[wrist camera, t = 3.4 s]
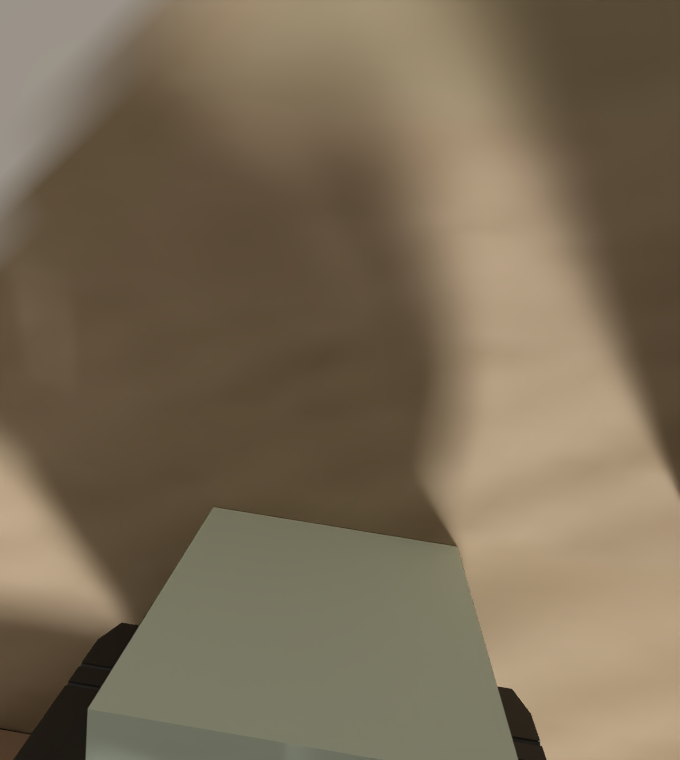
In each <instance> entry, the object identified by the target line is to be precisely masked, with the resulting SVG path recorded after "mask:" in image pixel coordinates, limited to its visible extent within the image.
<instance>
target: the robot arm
mask: <svg viewBox="0 0 680 760" xmlns="http://www.w3.org/2000/svg"><path fill="white" fill-rule="evenodd" d="M154 602H155V601H154ZM154 602H153V603H154ZM152 605H153V604H152ZM152 605H151V606H152ZM150 608H151V607H150ZM149 610H150V609H149ZM149 610H148V611H149ZM147 613H148V612H147ZM147 613H146V614H147ZM145 616H146V615H145ZM144 618H145V617H144ZM144 618H143V619H144ZM142 621H143V620H142ZM142 621H141V623H142ZM141 623H140V624H141ZM139 626H140V625H139ZM139 626H138V625H132V624H126V623H121V624H119V625H118V626H116V627H115V628H114V629H112V630H111V631H109V632H108V633H107V634H105V635H104V636H102V637H101V638H100V639H98V640H97V642H96V643H95V645H94V646H93V647H92V649H91V650H90V652H89V653H88V654H87V656H86V657H85V659H84V660H83V661H82V665H81V667H78V669H77V670H76V671H75V673H74V674H73V676H72V677H71V678H70V680H69V683H68V685H67V686H65V687H64V688H63V690H62V691H61V693H60V694H59V695H58V697H57V698H56V700H55V701H54V703H53V704H52V705H51V707H50V708H49V710H48V711H47V712H46V714H45V715H44V717H43V718H42V720H41V721H40V722H39V724H38V725H37V727H36V728H35V729H34V731H33V732H32V734H31V735H30V737H29V738H28V739H27V741H26V742H25V744H24V745H23V746H22V748H21V749H20V751H19V752H18V754H17V755H16V756H15V758H14V759H13V760H86V737H87V713H88V708H89V706H90V704H91V703H92V701H93V700H94V698H95V696H96V695H97V693H98V692H99V690H100V688H101V687H102V685H103V684H104V682H105V680H106V679H107V677H108V676H109V674H110V672H111V671H112V669H113V667H114V666H115V664H116V663H117V661H118V659H119V658H120V656H121V655H122V653H123V651H124V650H125V648H126V647H127V645H128V643H129V642H130V640H131V639H132V637H133V635H134V634H135V632H136V631H137V629H138V627H139ZM498 691H499V694H500V698H501V701H502V705H503V708H504V712H505V715H506V719H507V722H508V726H509V729H510V733H511V736H512V740H513V743H514V747H515V750H516V754H517V757H518V760H546V757H545V754H544V751H543V748H542V746H540V739H539V736H538V733H537V731H536V728H535V725H534V722H533V719H532V716H531V713H530V712H529V711H528V709H527V708H526V707H525V706H524V704H523V703H522V702H521V700H520V699H519V698H518V696H517V695H516V694H515V692H514V691H513V690H512V689H509V688H503V687H498Z"/></svg>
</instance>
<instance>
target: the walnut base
mask: <svg viewBox="0 0 680 760" xmlns="http://www.w3.org/2000/svg"><path fill="white" fill-rule="evenodd" d="M29 737H30V735H29V734H24V733H18V732H12V731H6V730H1V729H0V760H13V759H14V758H15V756H16V755H17V754H18V752H19V751H20V749H21V748H22V746H23V745H24V744H25V742H26V741H27V739H28V738H29Z"/></svg>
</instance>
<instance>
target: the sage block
mask: <svg viewBox="0 0 680 760" xmlns="http://www.w3.org/2000/svg"><path fill="white" fill-rule="evenodd" d="M86 760H518V757H517V754H516V750H515V747H514V743H513V740H512V736H511V733H510V729H509V726H508V722H507V719H506V715H505V712H504V708H503V705H502V701H501V698H500V694H499V691H498V687H497V684H496V680H495V677H494V673H493V670H492V666H491V663H490V659H489V656H488V652H487V649H486V645H485V642H484V638H483V635H482V631H481V628H480V624H479V621H478V617H477V614H476V610H475V607H474V603H473V600H472V596H471V593H470V589H469V586H468V582H467V579H466V575H465V572H464V568H463V565H462V561H461V558H460V554H459V551H458V547H456V546H450V545H444V544H438V543H432V542H425V541H419V540H413V539H407V538H401V537H395V536H389V535H382V534H376V533H370V532H364V531H358V530H352V529H345V528H339V527H333V526H327V525H321V524H315V523H308V522H302V521H296V520H290V519H284V518H278V517H271V516H265V515H259V514H253V513H247V512H241V511H235V510H228V509H222V508H216V507H213V509H212V510H211V512H210V513H209V515H208V517H207V518H206V520H205V521H204V523H203V525H202V526H201V528H200V529H199V531H198V533H197V534H196V536H195V537H194V539H193V541H192V542H191V544H190V545H189V547H188V549H187V550H186V552H185V553H184V555H183V557H182V558H181V560H180V561H179V563H178V565H177V566H176V568H175V570H174V571H173V573H172V574H171V576H170V578H169V579H168V581H167V582H166V584H165V586H164V587H163V589H162V590H161V592H160V594H159V595H158V597H157V598H156V600H155V602H154V603H153V605H152V606H151V608H150V610H149V611H148V613H147V614H146V616H145V618H144V619H143V621H142V623H141V624H140V626H139V627H138V629H137V631H136V632H135V634H134V635H133V637H132V639H131V640H130V642H129V643H128V645H127V647H126V648H125V650H124V651H123V653H122V655H121V656H120V658H119V659H118V661H117V663H116V664H115V666H114V667H113V669H112V671H111V672H110V674H109V676H108V677H107V679H106V680H105V682H104V684H103V685H102V687H101V688H100V690H99V692H98V693H97V695H96V696H95V698H94V700H93V701H92V703H91V704H90V706H89V708H88V713H87V737H86Z"/></svg>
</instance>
